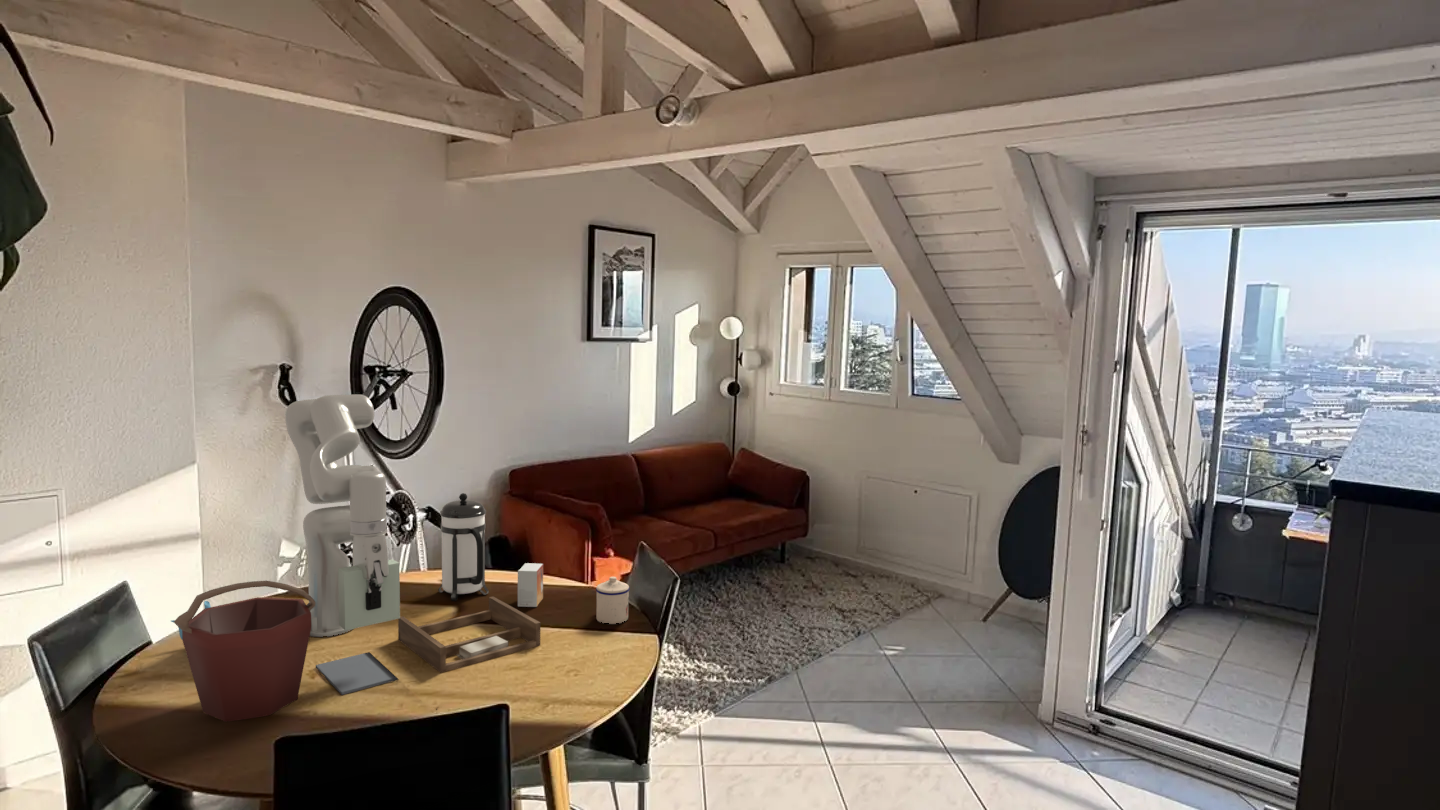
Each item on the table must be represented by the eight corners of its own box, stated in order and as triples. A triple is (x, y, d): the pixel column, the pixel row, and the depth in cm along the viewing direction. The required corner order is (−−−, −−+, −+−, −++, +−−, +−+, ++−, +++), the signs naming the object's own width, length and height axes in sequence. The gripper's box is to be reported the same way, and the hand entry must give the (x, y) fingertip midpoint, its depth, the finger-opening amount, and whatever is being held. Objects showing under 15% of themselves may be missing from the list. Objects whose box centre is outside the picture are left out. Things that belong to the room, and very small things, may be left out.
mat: (341, 695, 170) (341, 692, 170) (315, 667, 183) (315, 665, 183) (425, 672, 182) (425, 669, 182) (395, 648, 196) (395, 645, 196)
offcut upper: (471, 661, 186) (471, 653, 186) (459, 654, 189) (459, 646, 189) (508, 649, 193) (508, 641, 193) (496, 643, 197) (496, 635, 196)
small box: (536, 607, 227) (537, 571, 226) (517, 607, 227) (517, 570, 226) (543, 598, 235) (543, 563, 234) (524, 597, 235) (524, 562, 234)
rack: (440, 678, 180) (440, 647, 179) (398, 644, 198) (398, 617, 197) (540, 650, 197) (540, 622, 196) (493, 621, 215) (493, 596, 214)
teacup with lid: (634, 621, 218) (635, 579, 216) (602, 627, 213) (603, 584, 212) (617, 608, 228) (617, 568, 227) (586, 612, 223) (587, 572, 222)
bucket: (169, 736, 152) (164, 607, 149) (192, 687, 172) (188, 574, 170) (314, 714, 162) (311, 593, 159) (320, 671, 182) (318, 563, 179)
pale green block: (345, 630, 176) (344, 572, 175) (339, 625, 179) (338, 568, 178) (400, 618, 184) (399, 563, 183) (393, 613, 187) (392, 559, 186)
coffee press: (425, 600, 230) (424, 497, 227) (452, 583, 246) (452, 487, 243) (481, 605, 227) (481, 501, 224) (505, 588, 243) (505, 490, 240)
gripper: (399, 531, 176) (400, 612, 178) (372, 517, 189) (373, 593, 190) (364, 536, 171) (365, 619, 173) (338, 522, 183) (340, 600, 185)
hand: (369, 605), depth 181 cm, fingers closed on pale green block, 4 cm apart
